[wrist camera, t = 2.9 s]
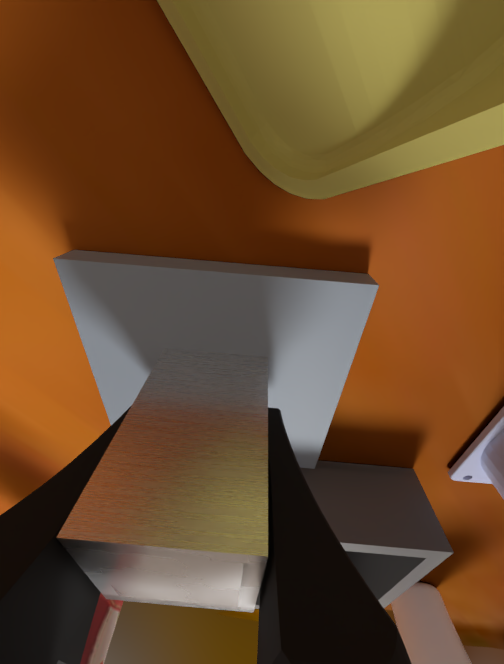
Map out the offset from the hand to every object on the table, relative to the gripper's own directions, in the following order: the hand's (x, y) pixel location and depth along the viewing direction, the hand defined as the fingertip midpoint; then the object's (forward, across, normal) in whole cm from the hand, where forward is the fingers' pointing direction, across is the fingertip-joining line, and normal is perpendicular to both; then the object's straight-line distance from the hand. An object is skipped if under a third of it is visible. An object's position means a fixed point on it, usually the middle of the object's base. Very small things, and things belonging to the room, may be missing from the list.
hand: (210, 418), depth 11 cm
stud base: (+3, 0, 0) cm, 3 cm away
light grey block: (+2, 0, 0) cm, 2 cm away
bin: (+3, -6, +14) cm, 16 cm away
